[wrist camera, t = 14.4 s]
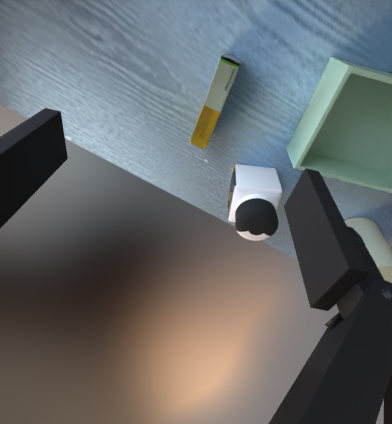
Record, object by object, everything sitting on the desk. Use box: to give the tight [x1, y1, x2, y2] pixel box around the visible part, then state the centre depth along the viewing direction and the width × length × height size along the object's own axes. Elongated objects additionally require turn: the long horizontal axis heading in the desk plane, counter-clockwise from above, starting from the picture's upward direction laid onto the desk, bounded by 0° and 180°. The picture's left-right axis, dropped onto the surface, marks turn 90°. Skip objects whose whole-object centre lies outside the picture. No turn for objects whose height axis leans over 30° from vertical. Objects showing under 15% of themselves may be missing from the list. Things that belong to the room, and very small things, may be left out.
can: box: [344, 217, 392, 283], centre depth 46 cm, size 9×9×12 cm
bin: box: [286, 57, 392, 193], centre depth 35 cm, size 22×13×6 cm, turn 77°
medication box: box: [190, 53, 242, 149], centre depth 36 cm, size 12×3×4 cm, turn 161°
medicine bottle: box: [228, 164, 283, 241], centre depth 41 cm, size 7×7×12 cm
